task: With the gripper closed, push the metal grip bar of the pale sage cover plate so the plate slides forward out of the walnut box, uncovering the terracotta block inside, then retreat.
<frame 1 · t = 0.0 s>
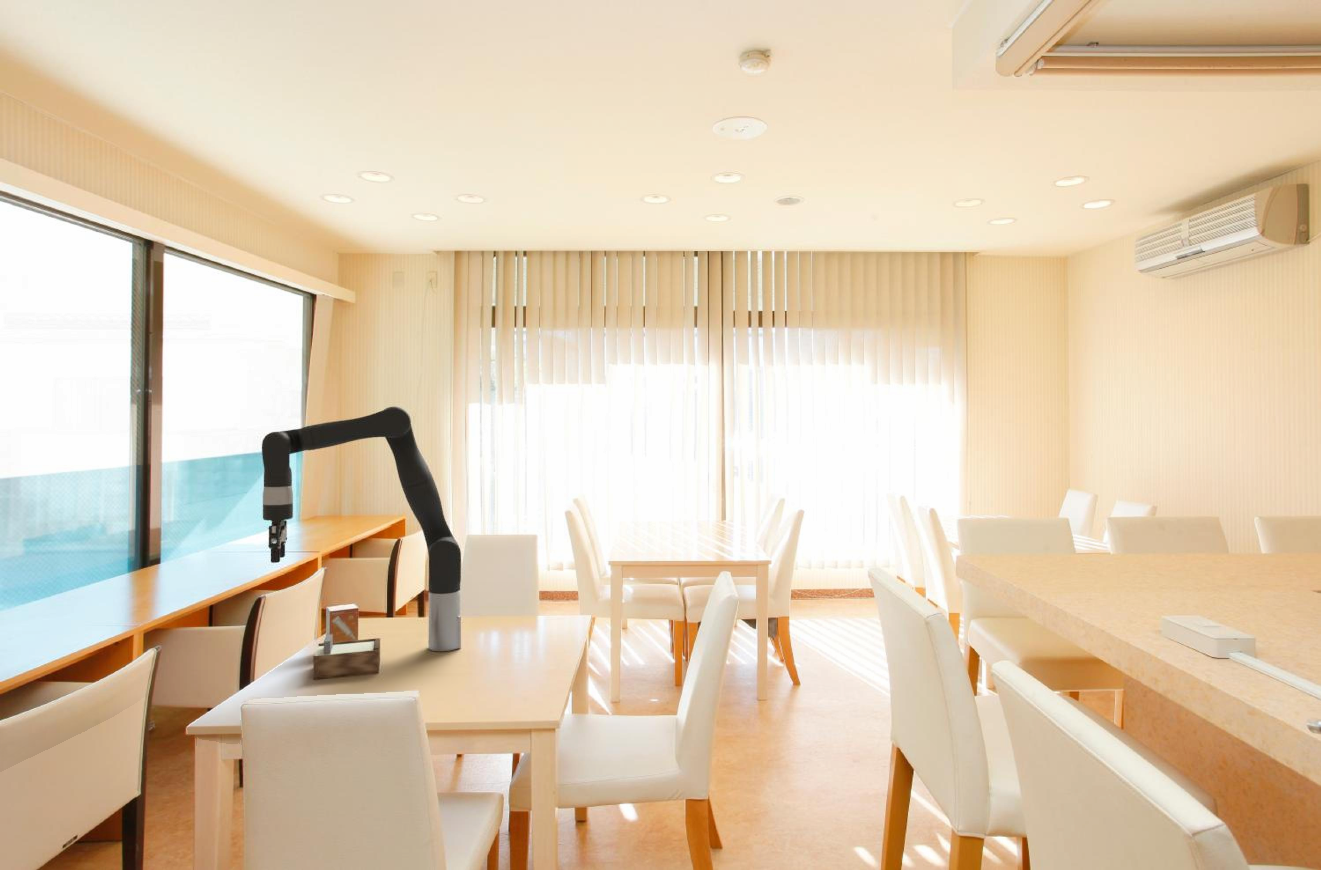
hand: (278, 559, 201), 29 cm above the table, fingers open, 8 cm apart
walnut box: (348, 669, 197), on the table
cover plate: (345, 643, 196), point 7 cm above the table, slide at 0.0 cm
small box: (342, 651, 214), on the table
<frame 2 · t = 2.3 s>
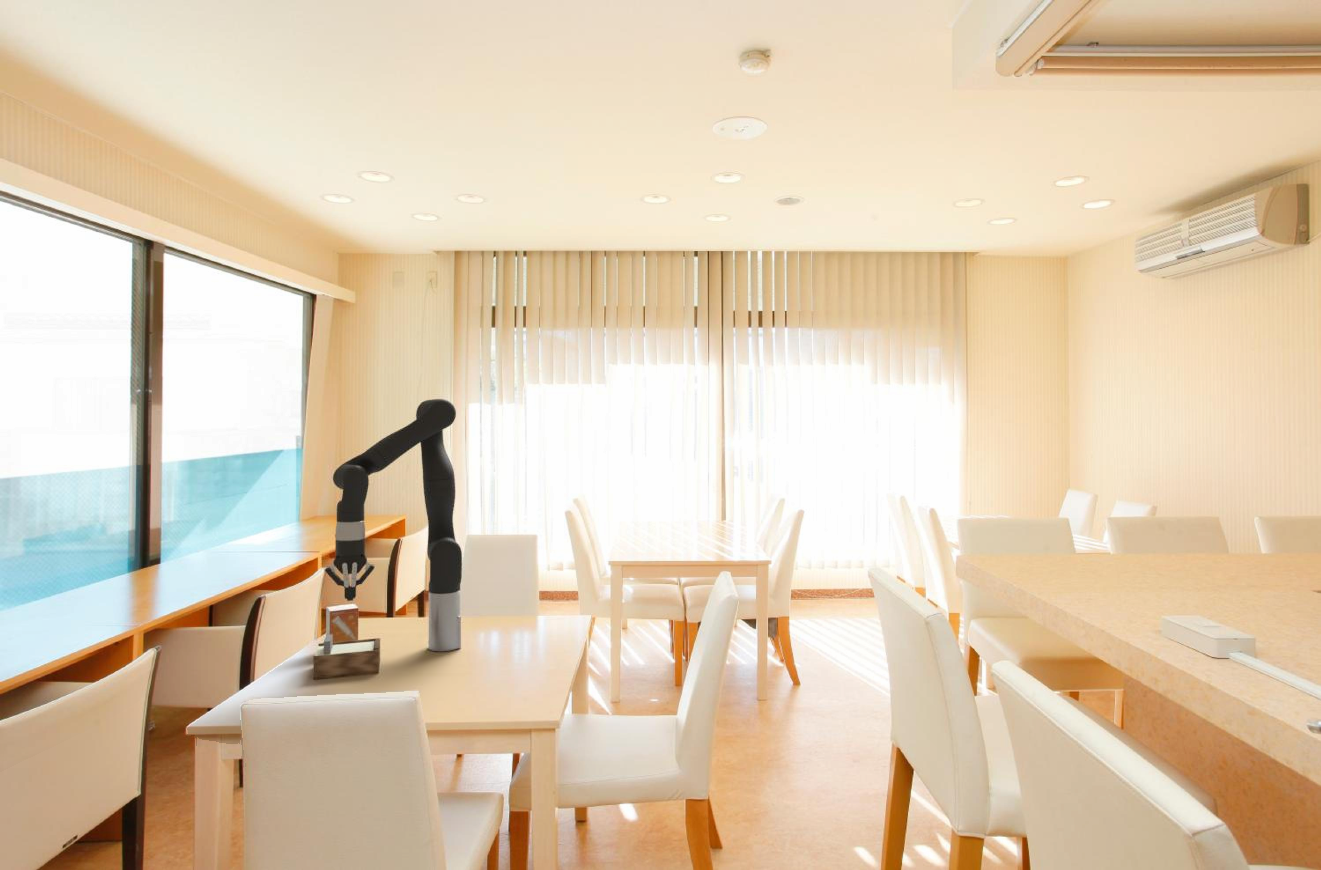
hand: (350, 600, 197), 19 cm above the table, fingers closed
nothing on the table moved.
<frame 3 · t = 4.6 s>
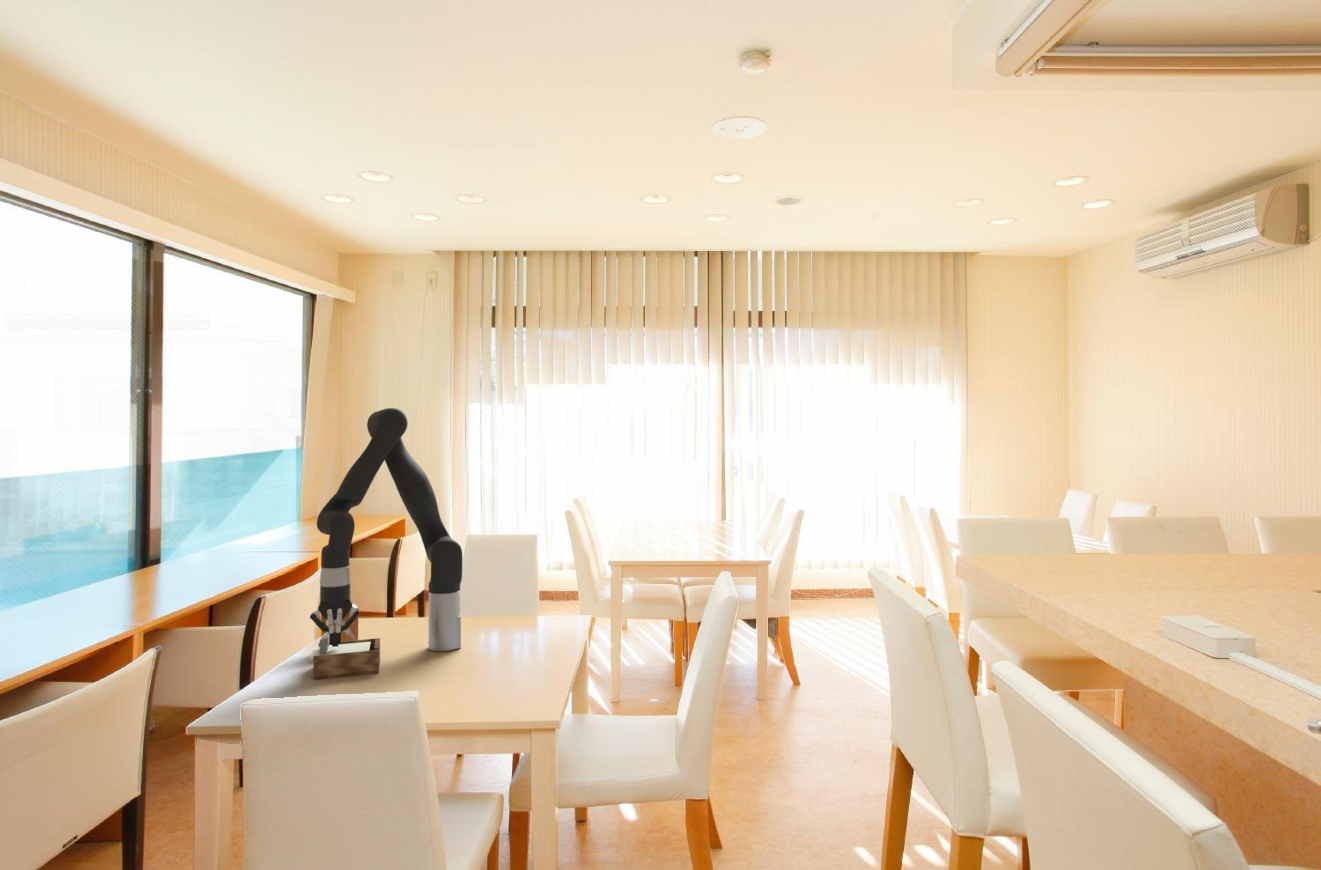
hand: (335, 645, 196), 7 cm above the table, fingers closed
cover plate: (341, 644, 196), point 7 cm above the table, slide at 1.0 cm, touching gripper
everything else where it was.
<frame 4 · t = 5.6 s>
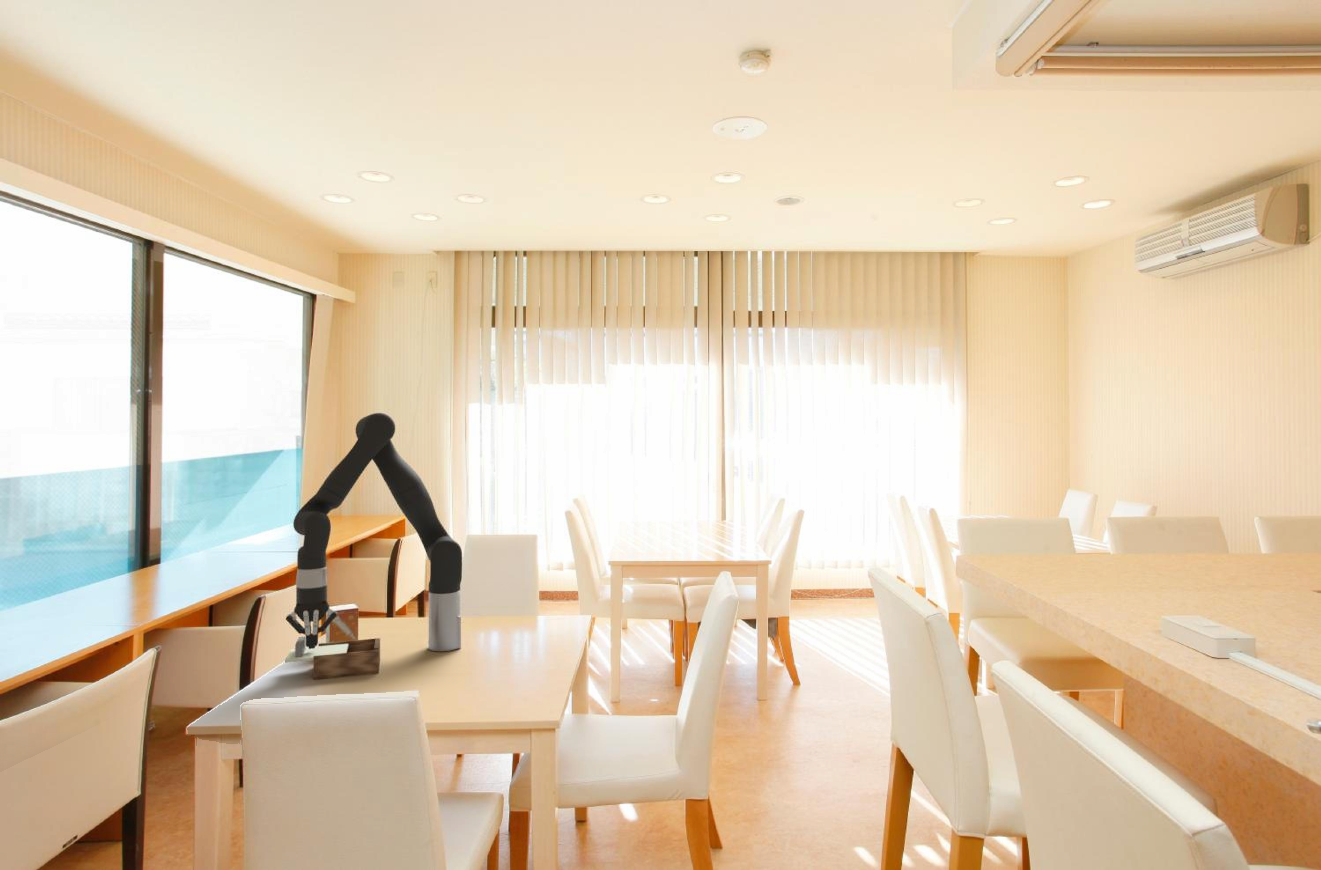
hand: (311, 647, 194), 7 cm above the table, fingers closed
cover plate: (317, 646, 194), point 7 cm above the table, slide at 6.8 cm, touching gripper
everything else where it was.
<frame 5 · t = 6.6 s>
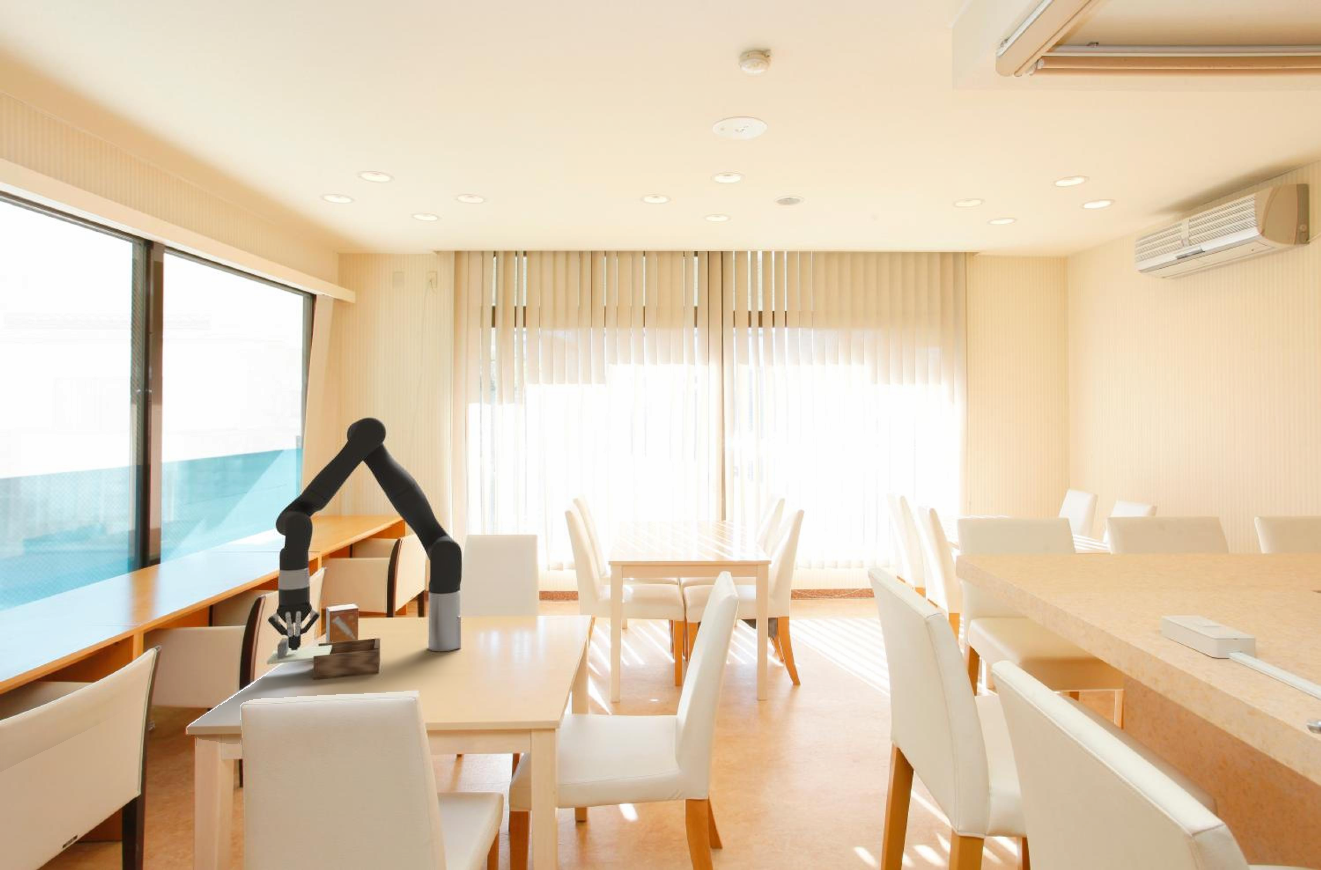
hand: (294, 649, 192), 7 cm above the table, fingers closed
cover plate: (300, 647, 193), point 7 cm above the table, slide at 11.0 cm, touching gripper
everything else where it was.
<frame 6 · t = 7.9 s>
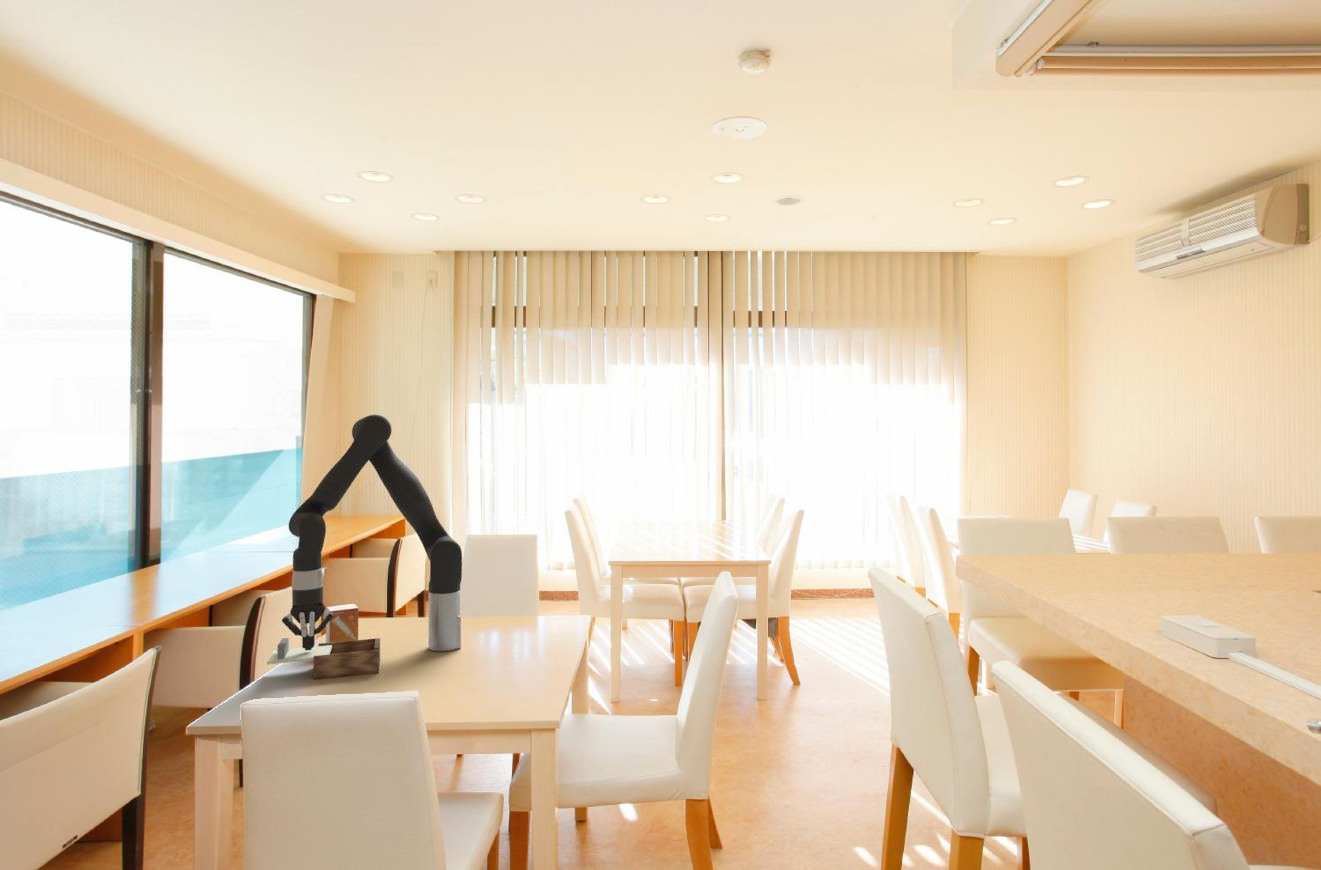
hand: (308, 649, 194), 6 cm above the table, fingers closed
cover plate: (300, 647, 193), point 7 cm above the table, slide at 11.0 cm
everything else where it was.
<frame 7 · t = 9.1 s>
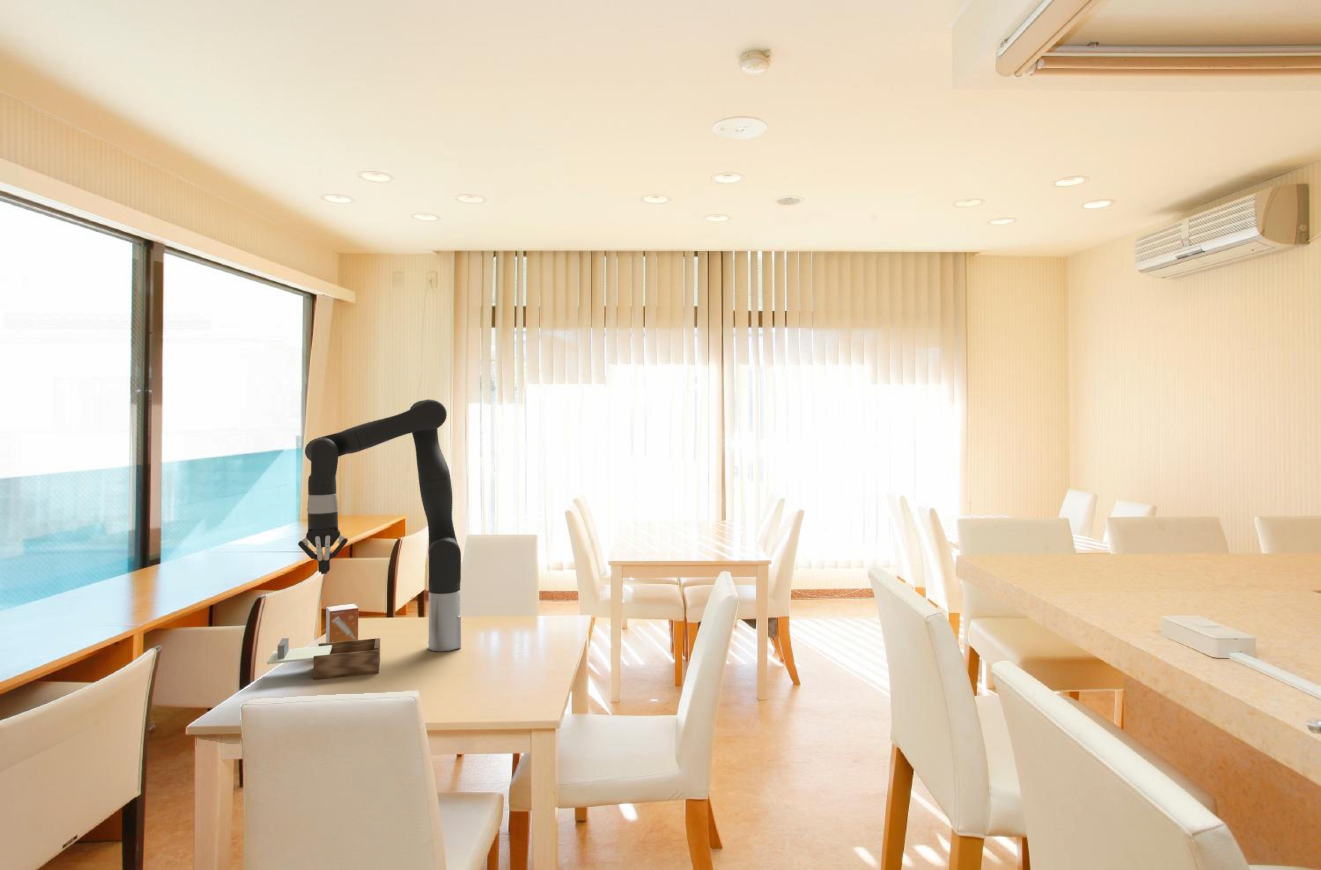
hand: (324, 573, 197), 26 cm above the table, fingers closed
nothing on the table moved.
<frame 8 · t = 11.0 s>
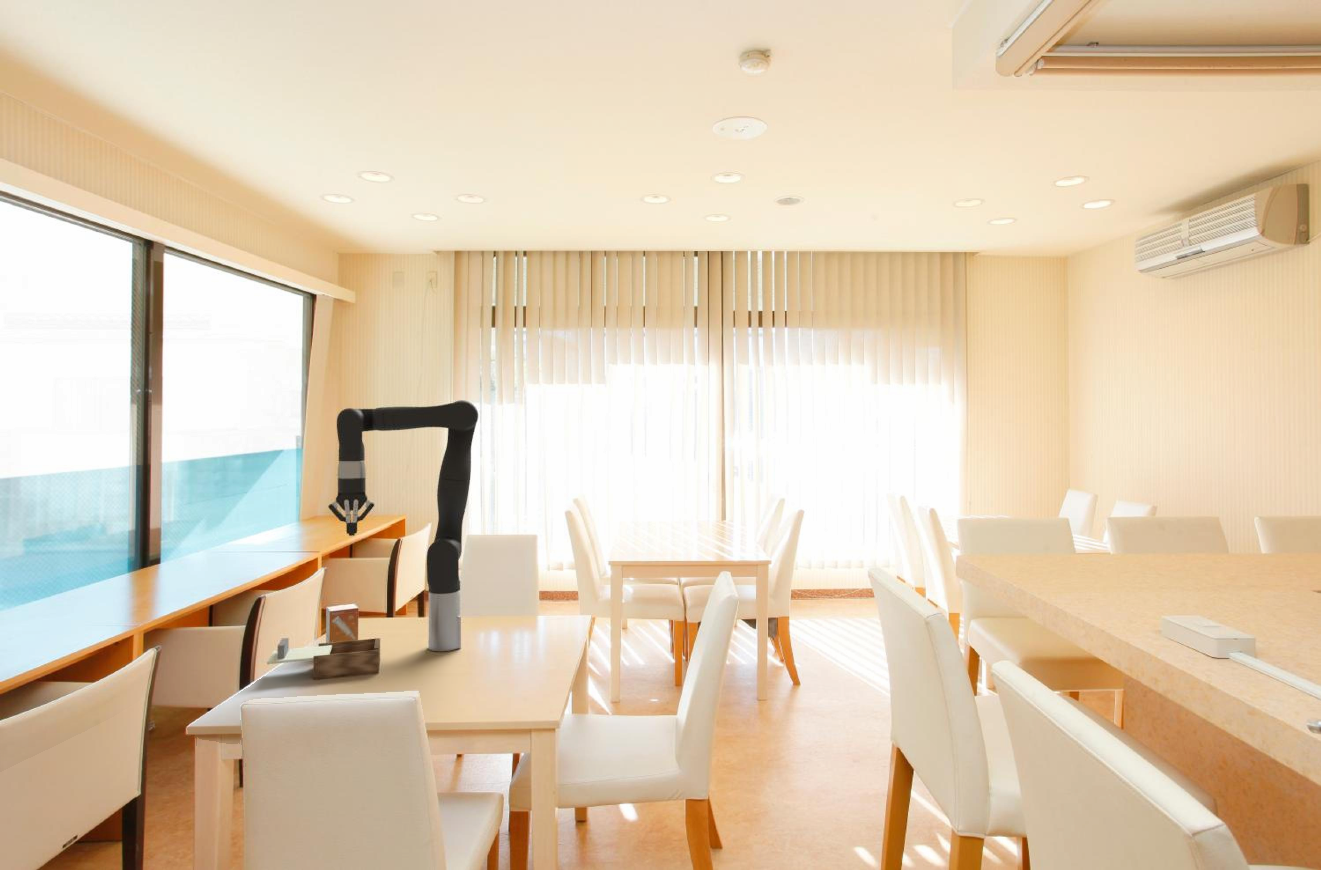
hand: (351, 535, 210), 35 cm above the table, fingers closed
nothing on the table moved.
at the end: cover plate slide at 11.0 cm; cover plate touching nothing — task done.
